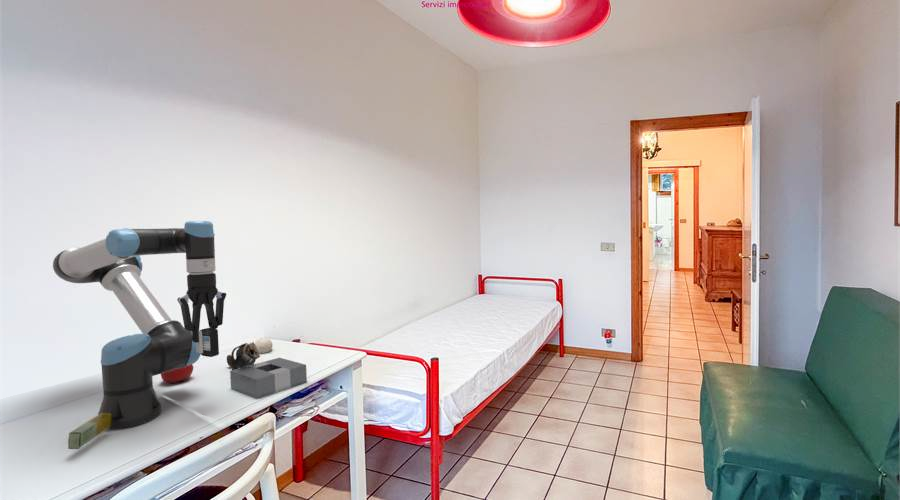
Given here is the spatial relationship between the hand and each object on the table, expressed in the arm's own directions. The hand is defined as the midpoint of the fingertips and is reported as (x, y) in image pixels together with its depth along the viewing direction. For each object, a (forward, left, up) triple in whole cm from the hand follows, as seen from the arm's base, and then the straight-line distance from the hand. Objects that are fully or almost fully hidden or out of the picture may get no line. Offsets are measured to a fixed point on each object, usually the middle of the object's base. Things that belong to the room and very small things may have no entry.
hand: (205, 351), depth 135 cm
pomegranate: (+5, +34, -17) cm, 38 cm away
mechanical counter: (+24, +26, -17) cm, 39 cm away
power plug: (+17, +16, -18) cm, 30 cm away
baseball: (+41, +39, -17) cm, 59 cm away
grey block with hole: (+20, 0, -16) cm, 26 cm away
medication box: (-28, +3, -17) cm, 32 cm away
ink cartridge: (0, -2, -1) cm, 3 cm away
